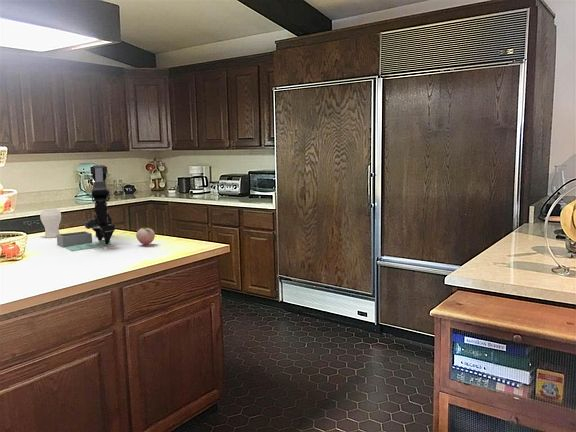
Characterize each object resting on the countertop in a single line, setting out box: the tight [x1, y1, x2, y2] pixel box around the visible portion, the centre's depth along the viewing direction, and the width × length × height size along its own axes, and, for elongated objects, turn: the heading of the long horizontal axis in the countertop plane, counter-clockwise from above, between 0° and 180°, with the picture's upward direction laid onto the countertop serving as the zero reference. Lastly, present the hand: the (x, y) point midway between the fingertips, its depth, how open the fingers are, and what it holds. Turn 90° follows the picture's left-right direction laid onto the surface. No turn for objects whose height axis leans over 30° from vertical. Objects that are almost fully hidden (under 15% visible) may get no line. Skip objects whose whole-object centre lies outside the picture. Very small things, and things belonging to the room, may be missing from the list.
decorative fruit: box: [135, 227, 156, 246], centre depth 241 cm, size 9×8×10 cm
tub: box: [56, 230, 93, 249], centre depth 243 cm, size 14×10×6 cm
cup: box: [39, 208, 62, 239], centre depth 269 cm, size 11×11×15 cm
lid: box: [64, 239, 112, 252], centre depth 236 cm, size 20×11×3 cm, turn 130°
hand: (103, 243), depth 240 cm, fingers open, 9 cm apart
